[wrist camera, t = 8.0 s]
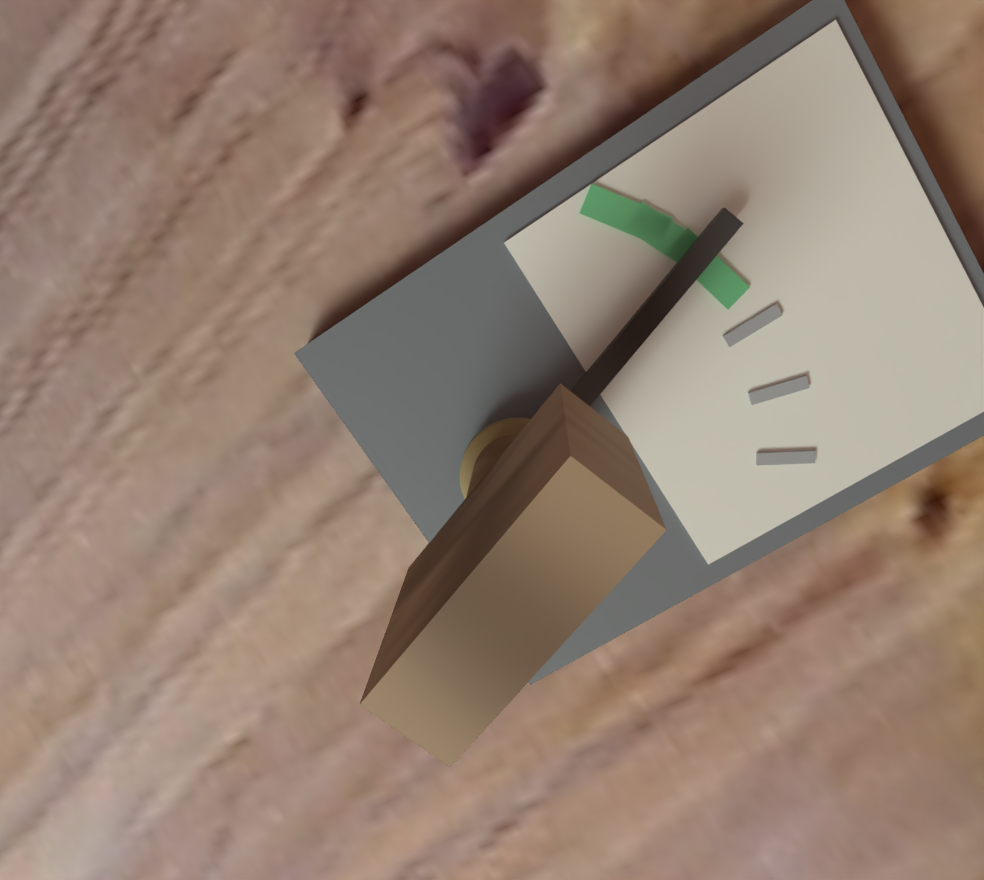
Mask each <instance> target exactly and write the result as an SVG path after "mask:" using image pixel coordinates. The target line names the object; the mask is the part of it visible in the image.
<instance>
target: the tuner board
mask: <svg viewBox="0 0 984 880" xmlns="http://www.w3.org/2000/svg"><path fill="white" fill-rule="evenodd" d="M722 208H726V209H727V210H728V211H730V212H731V213H732V214H733V215H734V216H736V217H737V218H738V219H739V220H740V221H741V222H743V223H744V224H743V225H742V226H741V227H740V228H739V230H738V231H737V232H736V233H735V234H734V236H733V237H732V238H731V239H730V240H729V241H728V243H727V244H726V245H725V246H724V247H723V249H722V250H721V251H720V252H719V253H718V255H717V256H716V257H715V258H714V259H713V261H712V262H711V263H710V264H709V265H708V266H707V268H706V269H705V270H704V271H703V272H702V274H701V275H700V276H699V277H698V278H697V280H696V281H695V282H694V283H693V284H692V286H691V287H690V288H689V289H688V290H687V292H686V293H685V294H684V295H683V296H682V297H681V299H680V300H679V301H678V302H677V303H676V305H675V306H674V307H673V308H672V309H671V311H670V312H669V313H668V314H667V315H666V317H665V318H664V319H663V320H662V321H661V322H660V324H659V325H658V326H657V327H656V328H655V330H654V331H653V332H652V333H651V334H650V336H649V337H648V338H647V339H646V340H645V342H644V343H643V344H642V345H641V346H640V348H639V349H638V350H637V351H636V352H635V353H634V355H633V356H632V357H631V358H630V359H629V361H628V362H627V363H626V364H625V365H624V367H623V368H622V369H621V370H620V371H619V373H618V374H617V375H616V376H615V377H614V378H613V380H612V381H611V382H610V383H609V384H608V386H607V387H606V388H605V389H604V390H603V392H602V393H601V394H600V395H599V396H598V398H597V399H596V400H595V401H594V402H593V403H592V405H591V406H590V407H591V408H592V409H594V410H595V411H596V412H597V413H599V414H600V415H601V416H603V417H604V418H605V419H606V420H608V421H609V422H610V423H612V424H613V425H614V426H615V427H617V428H618V429H619V430H620V431H622V432H623V433H624V434H626V435H627V436H628V437H629V440H630V442H631V445H632V447H633V450H634V452H635V454H636V457H637V459H638V462H639V464H640V467H641V469H642V471H643V474H644V476H645V479H646V481H647V483H648V486H649V488H650V491H651V493H652V496H653V498H654V500H655V503H656V505H657V508H658V510H659V513H660V515H661V517H662V520H663V522H664V525H665V527H666V529H667V530H666V531H665V532H664V533H663V535H662V536H661V537H660V538H659V539H658V540H657V541H656V542H655V543H654V544H653V545H652V547H651V548H650V549H649V550H648V551H647V552H646V553H645V554H644V555H643V556H642V558H641V559H640V560H639V561H638V562H637V563H636V564H635V565H634V566H633V567H632V569H631V570H630V571H629V572H628V573H627V574H626V575H625V576H624V577H623V578H622V580H621V581H620V582H619V583H618V584H617V585H616V586H615V587H614V588H613V589H612V591H611V592H610V593H609V594H608V595H607V596H606V597H605V598H604V599H603V600H602V602H601V603H600V604H599V605H598V606H597V607H596V608H595V609H594V610H593V611H592V612H591V614H590V615H589V616H588V617H587V618H586V619H585V620H584V621H583V622H582V623H581V625H580V626H579V627H578V628H577V629H576V630H575V631H574V632H573V633H572V634H571V636H570V637H569V638H568V639H567V640H566V641H565V642H564V643H563V644H562V645H561V647H560V648H559V649H558V650H557V651H556V652H555V653H554V654H553V655H552V656H551V658H550V659H549V660H548V661H547V662H546V663H545V664H544V665H543V666H542V667H541V668H540V670H539V671H538V672H537V673H536V674H535V675H534V676H533V677H532V678H531V679H530V681H529V683H530V685H531V684H532V683H534V682H536V681H538V680H540V679H541V678H543V677H545V676H547V675H549V674H551V673H552V672H554V671H556V670H558V669H560V668H561V667H563V666H565V665H567V664H569V663H571V662H572V661H574V660H576V659H578V658H580V657H581V656H583V655H585V654H587V653H589V652H591V651H592V650H594V649H596V648H598V647H600V646H601V645H603V644H605V643H607V642H609V641H611V640H612V639H614V638H616V637H618V636H620V635H621V634H623V633H625V632H627V631H629V630H631V629H632V628H634V627H636V626H638V625H640V624H641V623H643V622H645V621H647V620H649V619H651V618H652V617H654V616H656V615H658V614H660V613H662V612H663V611H665V610H667V609H669V608H671V607H672V606H674V605H676V604H678V603H680V602H682V601H683V600H685V599H687V598H689V597H691V596H692V595H694V594H696V593H698V592H700V591H702V590H703V589H705V588H707V587H709V586H711V585H712V584H714V583H716V582H718V581H720V580H722V579H723V578H725V577H727V576H729V575H731V574H732V573H734V572H736V571H738V570H740V569H742V568H743V567H745V566H747V565H749V564H751V563H752V562H754V561H756V560H758V559H760V558H762V557H763V556H765V555H767V554H769V553H771V552H772V551H774V550H776V549H778V548H780V547H782V546H783V545H785V544H787V543H789V542H791V541H792V540H794V539H796V538H798V537H800V536H802V535H803V534H805V533H807V532H809V531H811V530H813V529H814V528H816V527H818V526H820V525H822V524H823V523H825V522H827V521H829V520H831V519H833V518H834V517H836V516H838V515H840V514H842V513H843V512H845V511H847V510H849V509H851V508H853V507H854V506H856V505H858V504H860V503H862V502H863V501H865V500H867V499H869V498H871V497H873V496H874V495H876V494H878V493H880V492H882V491H883V490H885V489H887V488H889V487H891V486H893V485H894V484H896V483H898V482H900V481H902V480H903V479H905V478H907V477H909V476H911V475H913V474H914V473H916V472H918V471H920V470H922V469H923V468H925V467H927V466H929V465H931V464H933V463H934V462H936V461H938V460H940V459H942V458H944V457H945V456H947V455H949V454H951V453H953V452H954V451H956V450H958V449H960V448H962V447H964V446H965V445H967V444H969V443H971V442H973V441H974V440H976V439H978V438H980V437H982V436H984V273H983V271H982V269H981V267H980V265H979V264H978V262H977V260H976V258H975V256H974V254H973V252H972V250H971V248H970V246H969V244H968V242H967V240H966V238H965V236H964V234H963V232H962V230H961V228H960V226H959V224H958V222H957V220H956V218H955V216H954V214H953V212H952V210H951V208H950V207H949V205H948V203H947V201H946V199H945V197H944V195H943V193H942V191H941V189H940V187H939V185H938V183H937V181H936V179H935V177H934V175H933V173H932V171H931V169H930V167H929V165H928V163H927V161H926V159H925V157H924V155H923V153H922V152H921V150H920V148H919V146H918V144H917V142H916V140H915V138H914V136H913V134H912V132H911V130H910V128H909V126H908V124H907V122H906V120H905V118H904V116H903V114H902V112H901V110H900V108H899V106H898V104H897V102H896V100H895V98H894V96H893V95H892V93H891V91H890V89H889V87H888V85H887V83H886V81H885V79H884V77H883V75H882V73H881V71H880V69H879V67H878V65H877V63H876V61H875V59H874V57H873V55H872V53H871V51H870V49H869V47H868V45H867V43H866V41H865V40H864V38H863V36H862V34H861V32H860V30H859V28H858V26H857V24H856V22H855V20H854V18H853V16H852V14H851V12H850V10H849V8H848V6H847V4H846V2H845V0H812V1H810V2H809V3H807V4H806V5H805V6H803V7H802V8H800V9H799V10H797V11H796V12H794V13H793V14H791V15H790V16H788V17H787V18H785V19H784V20H782V21H781V22H780V23H778V24H777V25H775V26H774V27H772V28H771V29H769V30H768V31H766V32H765V33H763V34H762V35H760V36H759V37H758V38H756V39H755V40H753V41H752V42H750V43H749V44H747V45H746V46H744V47H743V48H741V49H740V50H738V51H737V52H735V53H734V54H733V55H731V56H730V57H728V58H727V59H725V60H724V61H722V62H721V63H719V64H718V65H716V66H715V67H713V68H712V69H711V70H709V71H708V72H706V73H705V74H703V75H702V76H700V77H699V78H697V79H696V80H694V81H693V82H691V83H690V84H688V85H687V86H686V87H684V88H683V89H681V90H680V91H678V92H677V93H675V94H674V95H672V96H671V97H669V98H668V99H666V100H665V101H664V102H662V103H661V104H659V105H658V106H656V107H655V108H653V109H652V110H650V111H649V112H647V113H646V114H644V115H643V116H641V117H640V118H639V119H637V120H636V121H634V122H633V123H631V124H630V125H628V126H627V127H625V128H624V129H622V130H621V131H619V132H618V133H617V134H615V135H614V136H612V137H611V138H609V139H608V140H606V141H605V142H603V143H602V144H600V145H599V146H597V147H596V148H594V149H593V150H592V151H590V152H589V153H587V154H586V155H584V156H583V157H581V158H580V159H578V160H577V161H575V162H574V163H572V164H571V165H570V166H568V167H567V168H565V169H564V170H562V171H561V172H559V173H558V174H556V175H555V176H553V177H552V178H550V179H549V180H547V181H546V182H545V183H543V184H542V185H540V186H539V187H537V188H536V189H534V190H533V191H531V192H530V193H528V194H527V195H525V196H524V197H522V198H521V199H520V200H518V201H517V202H515V203H514V204H512V205H511V206H509V207H508V208H506V209H505V210H503V211H502V212H500V213H499V214H498V215H496V216H495V217H493V218H492V219H490V220H489V221H487V222H486V223H484V224H483V225H481V226H480V227H478V228H477V229H475V230H474V231H473V232H471V233H470V234H468V235H467V236H465V237H464V238H462V239H461V240H459V241H458V242H456V243H455V244H453V245H452V246H451V247H449V248H448V249H446V250H445V251H443V252H442V253H440V254H439V255H437V256H436V257H434V258H433V259H431V260H430V261H428V262H427V263H426V264H424V265H423V266H421V267H420V268H418V269H417V270H415V271H414V272H412V273H411V274H409V275H408V276H406V277H405V278H404V279H402V280H401V281H399V282H398V283H396V284H395V285H393V286H392V287H390V288H389V289H387V290H386V291H384V292H383V293H381V294H380V295H379V296H377V297H376V298H374V299H373V300H371V301H370V302H368V303H367V304H365V305H364V306H362V307H361V308H359V309H358V310H357V311H355V312H354V313H352V314H351V315H349V316H348V317H346V318H345V319H343V320H342V321H340V322H339V323H337V324H336V325H334V326H333V327H332V328H330V329H329V330H327V331H326V332H324V333H323V334H321V335H320V336H318V337H317V338H315V339H314V340H312V341H311V342H309V343H308V344H307V345H305V346H304V347H302V348H301V349H299V350H298V351H296V352H295V353H294V354H295V355H296V357H297V358H298V359H299V361H300V362H301V364H302V365H303V367H304V368H305V369H306V371H307V372H308V374H309V375H310V376H311V378H312V379H313V381H314V382H315V383H316V385H317V386H318V388H319V389H320V390H321V392H322V393H323V395H324V396H325V397H326V399H327V400H328V402H329V403H330V404H331V406H332V407H333V409H334V410H335V411H336V413H337V414H338V416H339V417H340V418H341V420H342V421H343V423H344V424H345V425H346V427H347V428H348V430H349V431H350V432H351V434H352V435H353V437H354V438H355V439H356V441H357V442H358V444H359V445H360V446H361V448H362V449H363V451H364V452H365V453H366V455H367V456H368V458H369V459H370V460H371V462H372V463H373V465H374V466H375V467H376V469H377V470H378V472H379V473H380V475H381V476H382V477H383V479H384V480H385V482H386V483H387V484H388V486H389V487H390V489H391V490H392V491H393V493H394V494H395V496H396V497H397V498H398V500H399V501H400V503H401V504H402V505H403V507H404V508H405V510H406V511H407V512H408V514H409V515H410V517H411V518H412V519H413V521H414V522H415V524H416V525H417V526H418V528H419V529H420V531H421V532H422V533H423V535H424V536H425V538H426V539H427V540H428V542H429V543H430V541H431V540H432V539H433V538H434V536H435V535H436V534H437V533H438V532H439V530H440V529H441V528H442V527H443V526H444V524H445V523H446V522H447V521H448V519H449V518H450V517H451V516H452V515H453V513H454V512H455V511H456V510H457V508H458V507H459V506H460V505H461V504H462V502H463V501H464V500H465V499H464V496H463V494H462V491H461V486H460V467H461V462H462V459H463V456H464V453H465V450H466V448H467V446H468V444H469V443H470V442H471V440H472V439H473V437H474V436H475V435H476V434H477V433H478V432H479V431H481V430H482V429H483V428H485V427H486V426H488V425H489V424H491V423H494V422H496V421H499V420H502V419H507V418H516V417H519V418H528V419H531V418H532V417H533V416H534V415H535V413H536V412H537V411H538V410H539V409H540V407H541V406H542V405H543V404H544V402H545V401H546V400H547V399H548V398H549V396H550V395H551V394H552V393H553V392H554V390H555V389H556V388H557V387H558V385H559V384H560V383H561V384H562V385H563V386H564V387H566V388H567V389H568V390H569V391H571V390H572V389H573V388H574V386H575V385H576V384H577V383H578V382H579V380H580V379H581V378H582V377H583V376H584V374H585V373H586V372H587V371H588V369H589V368H590V367H591V366H592V365H593V363H594V362H595V361H596V360H597V359H598V357H599V356H600V355H601V354H602V353H603V351H604V350H605V349H606V348H607V346H608V345H609V344H610V343H611V342H612V340H613V339H614V338H615V337H616V336H617V334H618V333H619V332H620V331H621V330H622V328H623V327H624V326H625V325H626V324H627V322H628V321H629V320H630V319H631V317H632V316H633V315H634V314H635V313H636V311H637V310H638V309H639V308H640V307H641V305H642V304H643V303H644V302H645V301H646V299H647V298H648V297H649V296H650V295H651V293H652V292H653V291H654V290H655V288H656V287H657V286H658V285H659V284H660V282H661V281H662V280H663V279H664V278H665V276H666V275H667V274H668V273H669V272H670V270H671V269H672V268H673V267H674V266H675V264H676V263H677V262H678V261H679V259H680V258H681V257H682V256H683V255H684V253H685V252H686V251H687V250H688V249H689V247H690V246H691V245H692V244H693V243H694V241H695V240H696V239H697V238H698V236H699V235H700V234H701V233H702V232H703V230H704V229H705V228H706V227H707V226H708V224H709V223H710V222H711V221H712V220H713V218H714V217H715V216H716V215H717V214H718V212H719V211H720V210H721V209H722Z"/></svg>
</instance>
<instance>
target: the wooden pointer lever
mask: <svg viewBox="0 0 984 880" xmlns="http://www.w3.org/2000/svg"><path fill="white" fill-rule="evenodd" d="M743 224H744V223H743V222H741V221H740V220H739V219H738V218H737V217H736V216H734V215H733V214H732V213H731V212H730V211H728V210H727V209H726V208H722V209H721V210H720V211H719V212H718V214H717V215H716V216H715V217H714V218H713V220H712V221H711V222H710V223H709V224H708V226H707V227H706V228H705V229H704V230H703V232H702V233H701V234H700V235H699V236H698V238H697V239H696V240H695V241H694V243H693V244H692V245H691V246H690V247H689V249H688V250H687V251H686V252H685V253H684V255H683V256H682V257H681V258H680V259H679V261H678V262H677V263H676V264H675V266H674V267H673V268H672V269H671V270H670V272H669V273H668V274H667V275H666V276H665V278H664V279H663V280H662V281H661V282H660V284H659V285H658V286H657V287H656V288H655V290H654V291H653V292H652V293H651V295H650V296H649V297H648V298H647V299H646V301H645V302H644V303H643V304H642V305H641V307H640V308H639V309H638V310H637V311H636V313H635V314H634V315H633V316H632V317H631V319H630V320H629V321H628V322H627V324H626V325H625V326H624V327H623V328H622V330H621V331H620V332H619V333H618V334H617V336H616V337H615V338H614V339H613V340H612V342H611V343H610V344H609V345H608V346H607V348H606V349H605V350H604V351H603V353H602V354H601V355H600V356H599V357H598V359H597V360H596V361H595V362H594V363H593V365H592V366H591V367H590V368H589V369H588V371H587V372H586V373H585V374H584V376H583V377H582V378H581V379H580V380H579V382H578V383H577V384H576V385H575V386H574V388H573V389H572V390H571V391H569V390H568V389H567V388H566V387H564V386H563V385H562V384H561V383H560V384H559V385H558V387H557V388H556V389H555V390H554V392H553V393H552V394H551V395H550V396H549V398H548V399H547V400H546V401H545V402H544V404H543V405H542V406H541V407H540V409H539V410H538V411H537V412H536V413H535V415H534V416H533V417H532V418H531V419H528V418H519V417H516V418H507V419H502V420H499V421H496V422H494V423H491V424H489V425H488V426H486V427H485V428H483V429H482V430H481V431H479V432H478V433H477V434H476V435H475V436H474V437H473V439H472V440H471V442H470V443H469V444H468V446H467V448H466V450H465V453H464V456H463V459H462V462H461V467H460V486H461V491H462V494H463V496H464V499H465V500H464V501H463V502H462V504H461V505H460V506H459V507H458V508H457V510H456V511H455V512H454V513H453V515H452V516H451V517H450V518H449V519H448V521H447V522H446V523H445V524H444V526H443V527H442V528H441V529H440V530H439V532H438V533H437V534H436V535H435V536H434V538H433V539H432V540H431V541H430V543H429V544H428V545H427V546H426V547H425V549H424V550H423V551H422V552H421V554H420V555H419V556H418V557H417V558H416V560H415V561H414V562H413V563H412V564H411V566H410V567H409V569H408V571H407V574H406V577H405V580H404V582H403V585H402V588H401V591H400V594H399V596H398V599H397V602H396V605H395V608H394V610H393V613H392V616H391V619H390V621H389V624H388V627H387V630H386V633H385V635H384V638H383V641H382V644H381V646H380V649H379V652H378V655H377V658H376V660H375V663H374V666H373V669H372V671H371V674H370V677H369V680H368V683H367V685H366V688H365V691H364V694H363V697H362V699H361V702H360V705H361V706H362V707H364V708H365V709H367V710H368V711H369V712H371V713H372V714H374V715H375V716H377V717H378V718H380V719H381V720H382V721H384V722H385V723H387V724H388V725H390V726H391V727H392V728H394V729H395V730H397V731H398V732H400V733H401V734H403V735H404V736H405V737H407V738H408V739H410V740H411V741H413V742H414V743H415V744H417V745H418V746H420V747H421V748H423V749H424V750H425V751H427V752H428V753H430V754H431V755H433V756H434V757H436V758H437V759H438V760H440V761H441V762H443V763H444V764H446V765H447V766H448V767H451V766H452V765H453V764H454V763H455V762H456V761H457V760H458V759H459V757H460V756H461V755H462V754H463V753H464V752H465V751H466V750H467V749H468V748H469V746H470V745H471V744H472V743H473V742H474V741H475V740H476V739H477V738H478V737H479V735H480V734H481V733H482V732H483V731H484V730H485V729H486V728H487V727H488V726H489V724H490V723H491V722H492V721H493V720H494V719H495V718H496V717H497V716H498V715H499V714H500V712H501V711H502V710H503V709H504V708H505V707H506V706H507V705H508V704H509V703H510V701H511V700H512V699H513V698H514V697H515V696H516V695H517V694H518V693H519V692H520V690H521V689H522V688H523V687H524V686H525V685H526V684H527V683H528V682H529V681H530V679H531V678H532V677H533V676H534V675H535V674H536V673H537V672H538V671H539V670H540V668H541V667H542V666H543V665H544V664H545V663H546V662H547V661H548V660H549V659H550V658H551V656H552V655H553V654H554V653H555V652H556V651H557V650H558V649H559V648H560V647H561V645H562V644H563V643H564V642H565V641H566V640H567V639H568V638H569V637H570V636H571V634H572V633H573V632H574V631H575V630H576V629H577V628H578V627H579V626H580V625H581V623H582V622H583V621H584V620H585V619H586V618H587V617H588V616H589V615H590V614H591V612H592V611H593V610H594V609H595V608H596V607H597V606H598V605H599V604H600V603H601V602H602V600H603V599H604V598H605V597H606V596H607V595H608V594H609V593H610V592H611V591H612V589H613V588H614V587H615V586H616V585H617V584H618V583H619V582H620V581H621V580H622V578H623V577H624V576H625V575H626V574H627V573H628V572H629V571H630V570H631V569H632V567H633V566H634V565H635V564H636V563H637V562H638V561H639V560H640V559H641V558H642V556H643V555H644V554H645V553H646V552H647V551H648V550H649V549H650V548H651V547H652V545H653V544H654V543H655V542H656V541H657V540H658V539H659V538H660V537H661V536H662V535H663V533H664V532H665V531H666V530H667V529H666V527H665V525H664V522H663V520H662V517H661V515H660V513H659V510H658V508H657V505H656V503H655V500H654V498H653V496H652V493H651V491H650V488H649V486H648V483H647V481H646V479H645V476H644V474H643V471H642V469H641V467H640V464H639V462H638V459H637V457H636V454H635V452H634V450H633V447H632V445H631V442H630V440H629V437H628V436H627V435H626V434H624V433H623V432H622V431H620V430H619V429H618V428H617V427H615V426H614V425H613V424H612V423H610V422H609V421H608V420H606V419H605V418H604V417H603V416H601V415H600V414H599V413H597V412H596V411H595V410H594V409H592V408H591V407H590V406H591V405H592V403H593V402H594V401H595V400H596V399H597V398H598V396H599V395H600V394H601V393H602V392H603V390H604V389H605V388H606V387H607V386H608V384H609V383H610V382H611V381H612V380H613V378H614V377H615V376H616V375H617V374H618V373H619V371H620V370H621V369H622V368H623V367H624V365H625V364H626V363H627V362H628V361H629V359H630V358H631V357H632V356H633V355H634V353H635V352H636V351H637V350H638V349H639V348H640V346H641V345H642V344H643V343H644V342H645V340H646V339H647V338H648V337H649V336H650V334H651V333H652V332H653V331H654V330H655V328H656V327H657V326H658V325H659V324H660V322H661V321H662V320H663V319H664V318H665V317H666V315H667V314H668V313H669V312H670V311H671V309H672V308H673V307H674V306H675V305H676V303H677V302H678V301H679V300H680V299H681V297H682V296H683V295H684V294H685V293H686V292H687V290H688V289H689V288H690V287H691V286H692V284H693V283H694V282H695V281H696V280H697V278H698V277H699V276H700V275H701V274H702V272H703V271H704V270H705V269H706V268H707V266H708V265H709V264H710V263H711V262H712V261H713V259H714V258H715V257H716V256H717V255H718V253H719V252H720V251H721V250H722V249H723V247H724V246H725V245H726V244H727V243H728V241H729V240H730V239H731V238H732V237H733V236H734V234H735V233H736V232H737V231H738V230H739V228H740V227H741V226H742V225H743Z"/></svg>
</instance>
